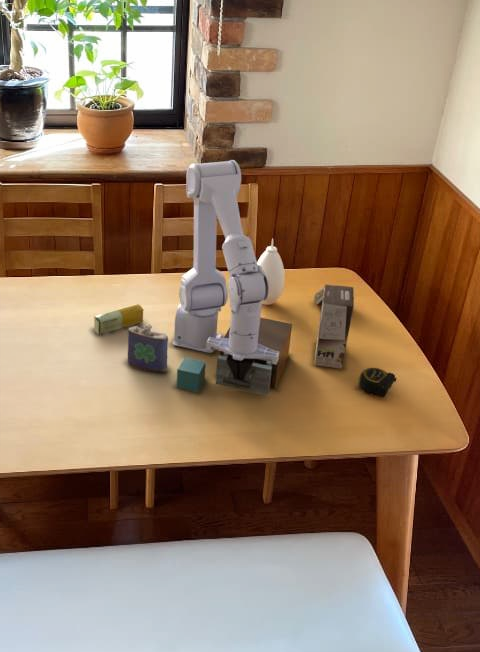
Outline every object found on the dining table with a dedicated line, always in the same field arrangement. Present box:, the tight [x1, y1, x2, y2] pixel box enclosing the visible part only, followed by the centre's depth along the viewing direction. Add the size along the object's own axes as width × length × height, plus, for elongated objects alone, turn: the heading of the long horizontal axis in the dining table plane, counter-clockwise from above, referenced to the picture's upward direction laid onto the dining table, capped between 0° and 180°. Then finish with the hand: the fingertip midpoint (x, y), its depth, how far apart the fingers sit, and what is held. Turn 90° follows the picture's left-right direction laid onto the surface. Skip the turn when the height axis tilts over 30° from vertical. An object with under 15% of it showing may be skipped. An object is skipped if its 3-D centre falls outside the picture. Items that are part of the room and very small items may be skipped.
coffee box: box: [314, 284, 355, 370], centre depth 177 cm, size 9×6×16 cm
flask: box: [127, 324, 169, 374], centre depth 173 cm, size 9×3×11 cm, turn 68°
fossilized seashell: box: [313, 285, 325, 307], centre depth 198 cm, size 8×7×10 cm
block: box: [176, 357, 207, 393], centre depth 170 cm, size 5×5×5 cm
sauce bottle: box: [257, 237, 286, 306], centre depth 195 cm, size 8×8×18 cm
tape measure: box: [358, 367, 398, 398], centre depth 170 cm, size 7×7×4 cm
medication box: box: [93, 303, 144, 336], centre depth 188 cm, size 12×3×4 cm, turn 120°
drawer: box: [215, 352, 274, 397], centre depth 169 cm, size 18×11×7 cm, turn 161°
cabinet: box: [219, 316, 293, 390], centre depth 175 cm, size 14×13×9 cm
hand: (239, 384), depth 164 cm, fingers closed, pressing on drawer
